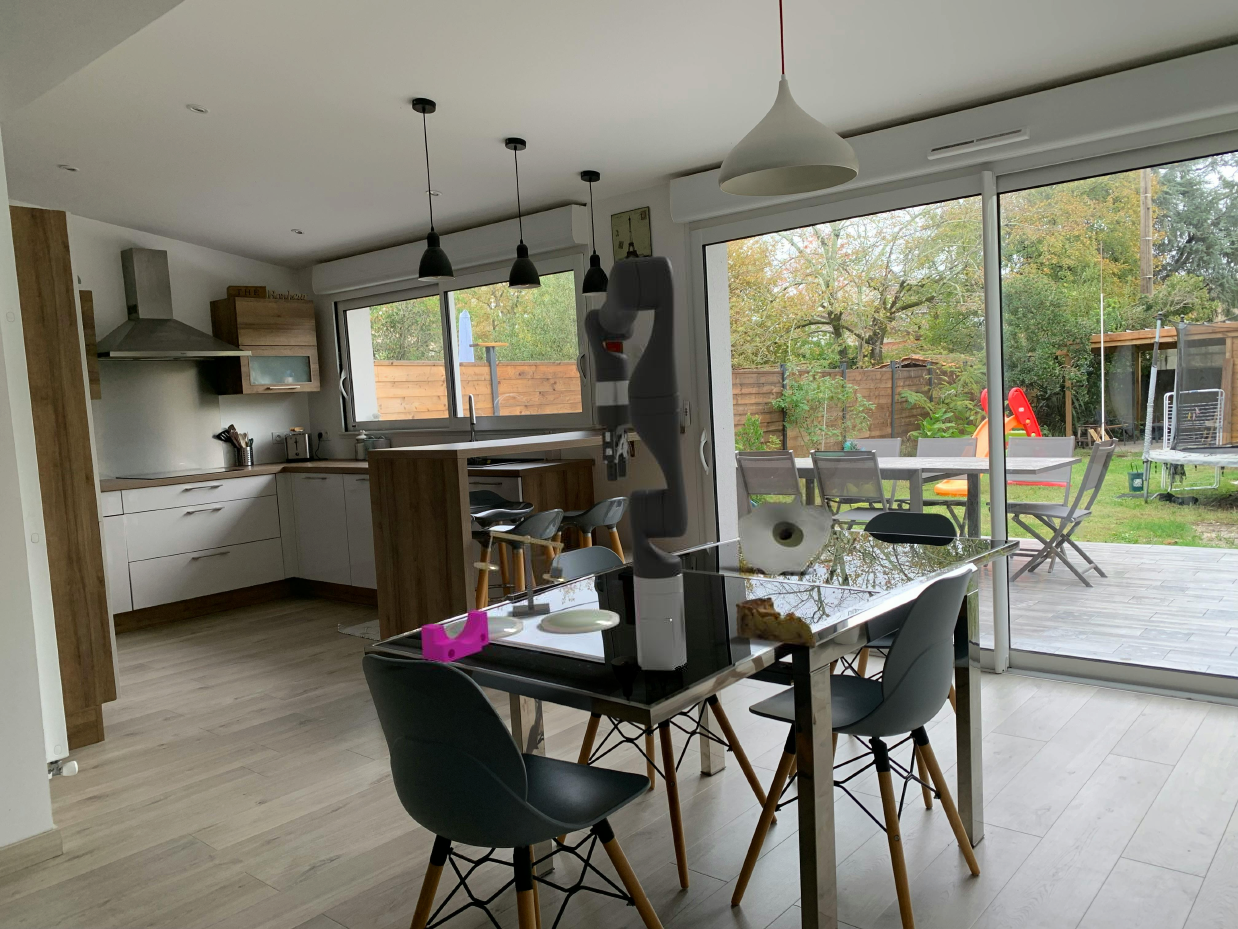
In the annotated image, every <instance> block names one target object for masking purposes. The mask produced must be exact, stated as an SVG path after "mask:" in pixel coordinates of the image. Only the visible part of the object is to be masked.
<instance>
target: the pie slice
mask: <svg viewBox="0 0 1238 929" xmlns="http://www.w3.org/2000/svg"><path fill="white" fill-rule="evenodd" d="M774 604H775V603H774V602H773V598H772V597H771V596H768V597H765V598H763V597H757V598H756V597H755V598H751V599H747V600H744V601H742V602H738V603H736V604H735V607H736V617H735V619H736V621H735V622H736V633H737V637H738V638H746V639H751V640H759V641H768V642H776V643H782V644H791V645H792V644H793V645H798V646H806V647H812V648H813V647H814V648H815V647H816V645H817V642H816V640H815V638H816V636H815V634H814V632H813V630H812V628H811V626H810V624H809V623H808V622H807V621H805V620H803V619H802V617H801V616H797V615H796V613H795V612H794V611H792V612H786V614H785V615H784V616H782V612H780V611H777V610H776V609H775V605H774Z"/></svg>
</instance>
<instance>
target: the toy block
mask: <svg viewBox="0 0 1238 929" xmlns="http://www.w3.org/2000/svg"><path fill="white" fill-rule="evenodd" d="M487 617H488V612H487V611H483V610H477V609H474V610H473V609H472V610H471V611H468V612H467V617H466V619H467V621H466V624H465V626H464V628H463V630H462V631H461V633H460V634H459V635H458V636H457V637H455V638H453V639H450V638H449V637H448V636H447V634H446V632H445V629H444V628H445V626H444V625H440V624H434V623H428V624H425V625H423V626H421V627H420V630H421V644H422V645H421V646H422V657H423V658H422V659H423V660H424V659H431V660H438V661H442V662H447V663H449V662H452V661H455V660H457V659H460V658H465V657H466V656H469V655H472V654H475V653H477V652H481V651H482V650H483V649H482V648H483V646H486V645H489V644H490V640H489V634H488V618H487Z"/></svg>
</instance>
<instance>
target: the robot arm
mask: <svg viewBox="0 0 1238 929" xmlns="http://www.w3.org/2000/svg"><path fill="white" fill-rule="evenodd" d="M675 284H676V283H675V274H674V270H673V266H672V263H671V261H670V259H669V258H668V257H666V256H661V255H660V256H659V255H657V256H646V257H643V256H642V257H631V258H624V259H620V260H617V261H616V262H615V263H614V264H613V265H612V266H611V269H610V272H609V275H608V280H607V287H606V294H605V300H604V302H603V304H602V305H601V307H600V308H594V309H590V310H589V311H587V313H586V315H585V317H584V323H583V324H584V331H585V333H586V337H587V339H588V342H589V345H590V349H591V352H592V356H593V360H594V370H595V371H594V372H595V407H596V412H595V413H596V424H597V426H598V427H606V430H605V431H602V432H601V442H602V461H603V462H605V464H606V476H607V478H606V479H607V481H608V482H616V481H619V478H626V477H627V476H628V470H627V469H628V466H627V465H628V464H627V459H628V456H629V455H630V448H629V435H628V434H629V430H628V428H624V426H629V425H631V426H632V428H633V429H634V431H635V433H636V434H637V436H638V438H639V439H640V440H641V441H642V443H643V444H644V445H645V446H646V448H647V449H648V450H649V452H650V453H651V454H652V456H653V458H654V459H655V460H656V462H657V464H658V466H659V467H660V469H661V472H662V474H663V478H664V480H665V483H666V488H645V489H644V488H643V489H641V488H640V489H636V490H633V491H632V492H631V493H630V496H629V498H628V505H627V506H628V510H627V511H628V520H629V521H628V522H629V523H628V524H629V530H630V531H629V532H630V539H631V540H630V541H631V552H632V553H631V554H632V568H633V587H634V588H633V591H634V594H633V595H634V609H635V610H634V613H635V632H636V633H635V634H636V648H637V649H636V650H637V663H638V666H640V667H641V670H643V671H646V670H647V671H675V670H676V669H677V668H676V667H678V666H681V667H683V666H685V665H686V664H687V645H686V644H687V643H686V624H685V604H684V603H685V602H684V601H685V600H684V599H685V598H684V577H683V562H682V559H681V558H680V557H679V556H678V555H676V554H673V553H669V552H666V551H664V550H661V549H660V548H658V547H656V546H655V545H654V544H653V543H652V542H651V541H650V539H665V538H666V539H667V538H668V539H672V538H681V537H683V536H685V534H686V532H687V530H688V523H689V520H688V519H689V516H688V514H689V512H688V504H687V495H686V493H687V492H686V486H685V477H684V469H683V460H682V459H683V458H682V443H681V420H680V419H681V412H680V395H679V394H680V393H679V383H678V382H679V381H678V373H677V360H676V345H675V344H676V341H675V339H676V338H675V332H676V331H675V324H676V323H675V322H676V319H675V317H676V316H675V315H676V313H675V312H676V311H675V310H676V308H675V306H676V305H675V304H676V302H675V300H676V297H675V296H676V295H675V290H676V289H675V288H676V286H675ZM647 311H653V314H654V315H653V325H652V329H651V332H650V337H649V338H648V342H647V344H646V346H645V348H644V350H643V352H642V355H641V357H640V358H639V359H638V361H637V364H636V365H635V367H634V368H633V371H632V373H631V376H630V375H629V374H630V373H629V372H630V371H629V360H628V359H629V358H628V357H627V355H626V354H624V353H621V352H615V351H611V350H608V349H607V348H606V346H605V345H604V343H614V342H615V343H616V342H620V343H621V342H626V341H629V340H630V339H632V337H633V335H634V332H635V321H636V319H637V318H638V315H639V312H647ZM629 376H630V377H629ZM685 663H686V664H685ZM684 664H685V665H684ZM682 665H683V666H682ZM675 668H676V669H675ZM678 668H679V667H678Z"/></svg>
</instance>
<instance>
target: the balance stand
mask: <svg viewBox="0 0 1238 929" xmlns="http://www.w3.org/2000/svg"><path fill="white" fill-rule="evenodd" d="M523 545H524V558H525V559H524V560H525V575H526V577H525V578H526V591H527V592H526V593H527V594H526V595H527V596H526V597H527V604H519V605H512V617H523V616H524V617H525V616H535V615H534V614H538V615H549V614H548V613H550V614H551V608H550V602H547V603H546V602H545V603H535V601H534V587H533V585H534V584H533V571H532V570H533V568H532V552H531V551H532V550H531V544H530V543H528V544H526V543H524V544H523Z"/></svg>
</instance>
